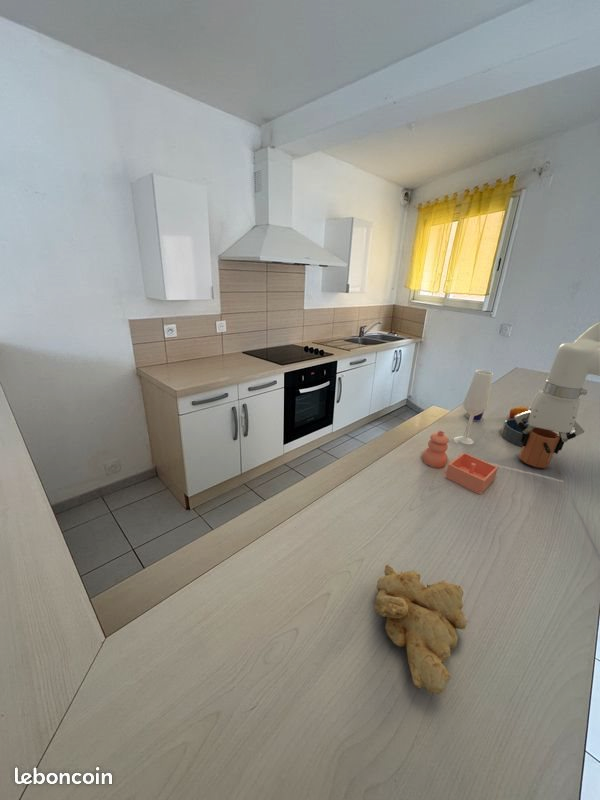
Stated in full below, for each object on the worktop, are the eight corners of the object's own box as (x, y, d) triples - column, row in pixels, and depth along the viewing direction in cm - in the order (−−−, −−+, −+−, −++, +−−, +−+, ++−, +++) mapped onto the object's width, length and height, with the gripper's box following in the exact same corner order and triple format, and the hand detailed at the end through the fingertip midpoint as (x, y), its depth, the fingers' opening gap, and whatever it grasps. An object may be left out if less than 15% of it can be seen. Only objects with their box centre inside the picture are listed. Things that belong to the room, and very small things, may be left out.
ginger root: (400, 556, 61) (416, 532, 56) (476, 641, 51) (502, 620, 46) (339, 603, 52) (351, 580, 48) (415, 716, 43) (440, 700, 38)
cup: (544, 457, 96) (556, 430, 92) (554, 479, 86) (567, 450, 82) (517, 451, 99) (527, 424, 95) (524, 472, 88) (535, 442, 85)
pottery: (493, 480, 87) (504, 449, 83) (479, 494, 81) (490, 461, 77) (431, 451, 99) (438, 423, 95) (415, 462, 93) (421, 432, 89)
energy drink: (462, 419, 121) (471, 389, 117) (468, 415, 125) (476, 386, 120) (477, 424, 118) (486, 394, 113) (482, 420, 121) (491, 391, 117)
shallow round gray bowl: (542, 437, 111) (547, 424, 109) (550, 455, 100) (556, 441, 98) (498, 428, 116) (502, 415, 114) (502, 444, 105) (507, 431, 103)
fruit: (514, 425, 115) (516, 403, 116) (504, 427, 123) (506, 406, 124) (539, 428, 114) (541, 406, 115) (528, 430, 121) (529, 409, 122)
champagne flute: (464, 448, 102) (484, 376, 92) (448, 437, 108) (467, 369, 98) (480, 445, 104) (502, 375, 94) (464, 435, 110) (484, 368, 100)
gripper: (597, 392, 85) (571, 449, 92) (521, 380, 92) (502, 434, 99) (607, 402, 79) (579, 462, 86) (525, 388, 86) (505, 445, 93)
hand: (538, 447), depth 92 cm, fingers closed on cup, 7 cm apart
